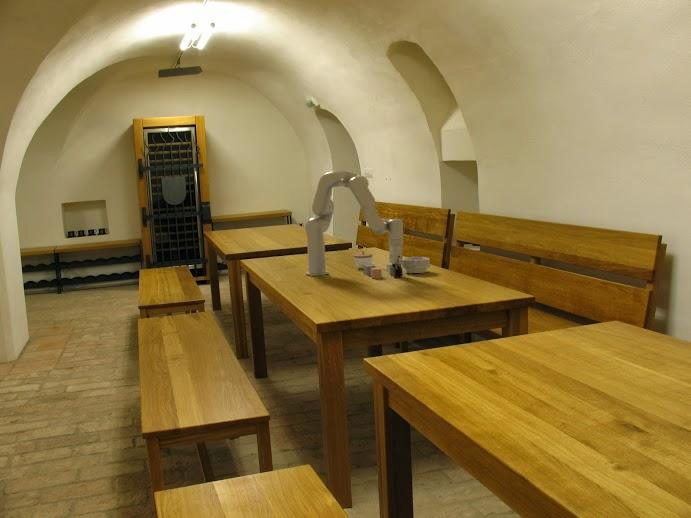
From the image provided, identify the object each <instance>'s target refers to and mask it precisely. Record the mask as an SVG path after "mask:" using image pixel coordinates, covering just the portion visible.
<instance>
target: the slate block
mask: <svg viewBox="0 0 691 518" xmlns="http://www.w3.org/2000/svg"><path fill="white" fill-rule="evenodd" d="M371 268H376V265H375V264H371V265H363V269H362V270H363V275H364V274H366V275H365V276H367V275H368V276H371Z"/></svg>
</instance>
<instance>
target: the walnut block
mask: <svg viewBox="0 0 691 518" xmlns="http://www.w3.org/2000/svg"><path fill="white" fill-rule="evenodd" d="M401 268H402V266H401ZM395 269H396V267H391V274H390V276H391V277H392V276H393V277H396V273H395ZM402 269H403V268H402ZM403 271H404V270H402V276H403ZM402 276H401V277H400V278H403V277H402ZM393 277H392V278H393ZM396 278H397V277H396Z"/></svg>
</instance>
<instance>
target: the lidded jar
mask: <svg viewBox="0 0 691 518" xmlns="http://www.w3.org/2000/svg"><path fill="white" fill-rule="evenodd" d="M353 257H354V258H353V259H354V264H355V266H356V267H357V268H358V269H359V268H361V269H362V268H363V265H373V264H372V263H373V254H372V253H370V252H369V253H365V251H362V252H361V253H356V254H354V255H353ZM361 269H360V270H361ZM362 270H363V269H362Z"/></svg>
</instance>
